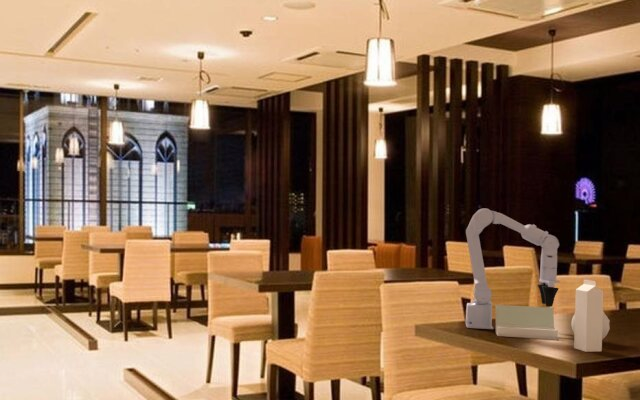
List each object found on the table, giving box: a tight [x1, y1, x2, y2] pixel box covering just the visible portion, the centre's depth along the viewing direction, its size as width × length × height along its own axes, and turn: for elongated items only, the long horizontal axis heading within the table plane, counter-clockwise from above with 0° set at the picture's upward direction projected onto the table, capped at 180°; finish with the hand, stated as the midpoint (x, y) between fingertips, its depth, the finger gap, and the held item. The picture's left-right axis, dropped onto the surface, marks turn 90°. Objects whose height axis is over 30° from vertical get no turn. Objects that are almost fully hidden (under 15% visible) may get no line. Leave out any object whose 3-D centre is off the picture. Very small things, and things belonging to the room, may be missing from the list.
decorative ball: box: [570, 310, 611, 340], centre depth 244 cm, size 12×12×12 cm
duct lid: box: [495, 304, 555, 328], centre depth 258 cm, size 20×7×1 cm
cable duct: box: [495, 323, 559, 340], centre depth 252 cm, size 20×7×3 cm, turn 82°
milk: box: [573, 279, 604, 353], centre depth 230 cm, size 6×6×22 cm
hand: (547, 305), depth 264 cm, fingers open, 7 cm apart
